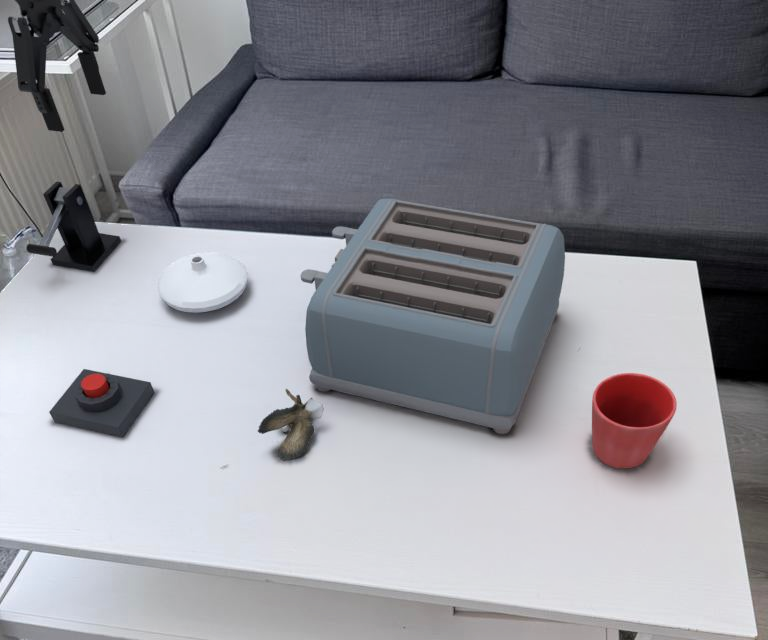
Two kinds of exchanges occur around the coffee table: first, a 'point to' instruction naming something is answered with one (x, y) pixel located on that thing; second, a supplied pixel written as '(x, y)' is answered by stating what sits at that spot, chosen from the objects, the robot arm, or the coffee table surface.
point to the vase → (202, 282)
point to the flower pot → (629, 418)
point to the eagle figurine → (293, 425)
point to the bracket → (79, 232)
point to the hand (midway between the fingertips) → (78, 111)
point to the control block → (103, 404)
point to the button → (95, 385)
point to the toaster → (436, 310)
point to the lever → (51, 227)
